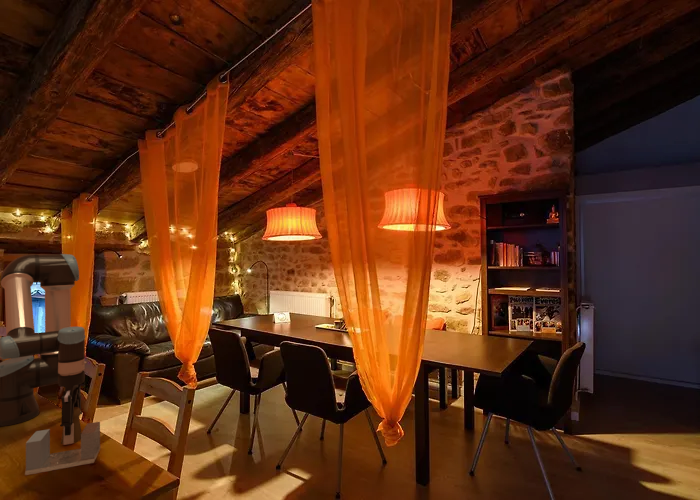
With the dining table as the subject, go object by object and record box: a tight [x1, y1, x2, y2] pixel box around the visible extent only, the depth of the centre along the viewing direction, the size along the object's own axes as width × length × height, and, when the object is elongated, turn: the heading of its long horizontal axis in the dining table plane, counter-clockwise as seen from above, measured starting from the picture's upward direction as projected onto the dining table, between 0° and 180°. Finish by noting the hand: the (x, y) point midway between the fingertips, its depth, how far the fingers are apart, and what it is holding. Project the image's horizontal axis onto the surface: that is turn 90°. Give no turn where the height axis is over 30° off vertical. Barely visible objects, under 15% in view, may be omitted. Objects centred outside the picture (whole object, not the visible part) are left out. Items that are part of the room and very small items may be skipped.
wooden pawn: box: [60, 407, 82, 446], centre depth 132 cm, size 6×6×11 cm
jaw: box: [25, 428, 51, 471], centre depth 116 cm, size 8×4×8 cm, turn 23°
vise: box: [24, 421, 101, 476], centre depth 119 cm, size 9×17×9 cm, turn 113°
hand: (71, 438), depth 132 cm, fingers open, 6 cm apart
